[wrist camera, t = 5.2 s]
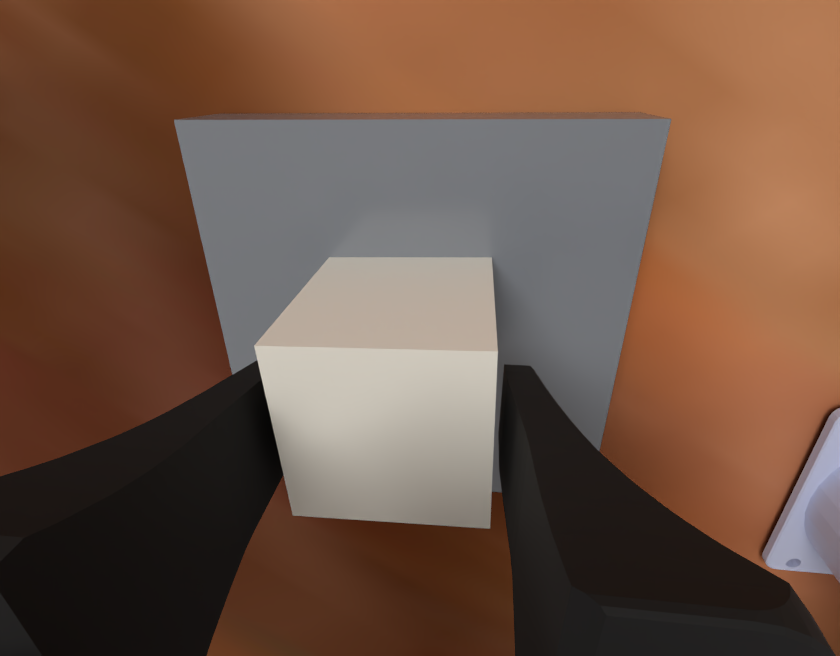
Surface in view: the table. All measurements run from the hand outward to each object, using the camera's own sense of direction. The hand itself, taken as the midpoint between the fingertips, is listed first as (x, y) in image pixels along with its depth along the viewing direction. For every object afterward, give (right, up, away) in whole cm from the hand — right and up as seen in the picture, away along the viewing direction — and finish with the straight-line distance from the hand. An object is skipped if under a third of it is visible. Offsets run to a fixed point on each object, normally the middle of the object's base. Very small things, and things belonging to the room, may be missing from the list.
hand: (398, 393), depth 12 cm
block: (0, +2, +2) cm, 3 cm away
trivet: (+1, +2, +5) cm, 5 cm away
